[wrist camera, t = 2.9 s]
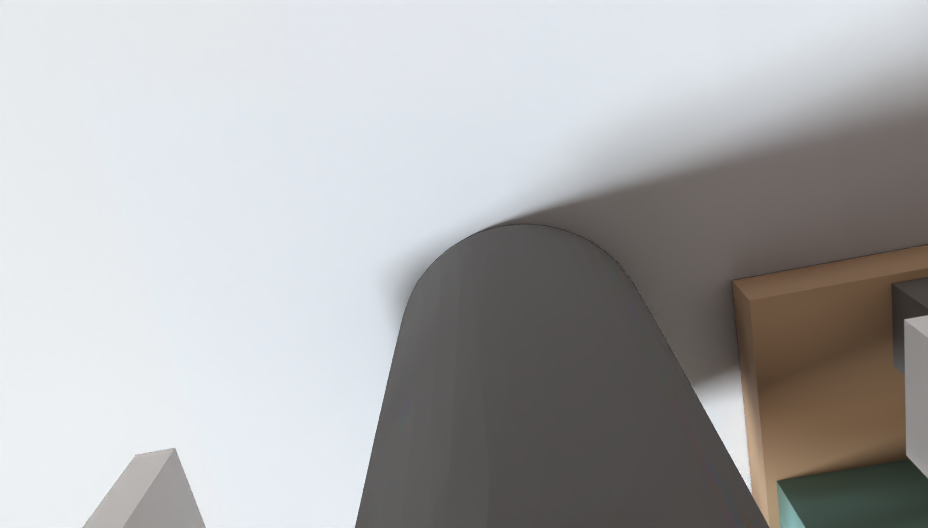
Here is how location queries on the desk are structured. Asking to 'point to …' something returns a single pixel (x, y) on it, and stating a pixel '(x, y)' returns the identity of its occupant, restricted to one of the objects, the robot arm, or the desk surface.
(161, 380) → the desk surface
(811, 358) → the block
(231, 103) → the desk surface
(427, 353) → the bottle
